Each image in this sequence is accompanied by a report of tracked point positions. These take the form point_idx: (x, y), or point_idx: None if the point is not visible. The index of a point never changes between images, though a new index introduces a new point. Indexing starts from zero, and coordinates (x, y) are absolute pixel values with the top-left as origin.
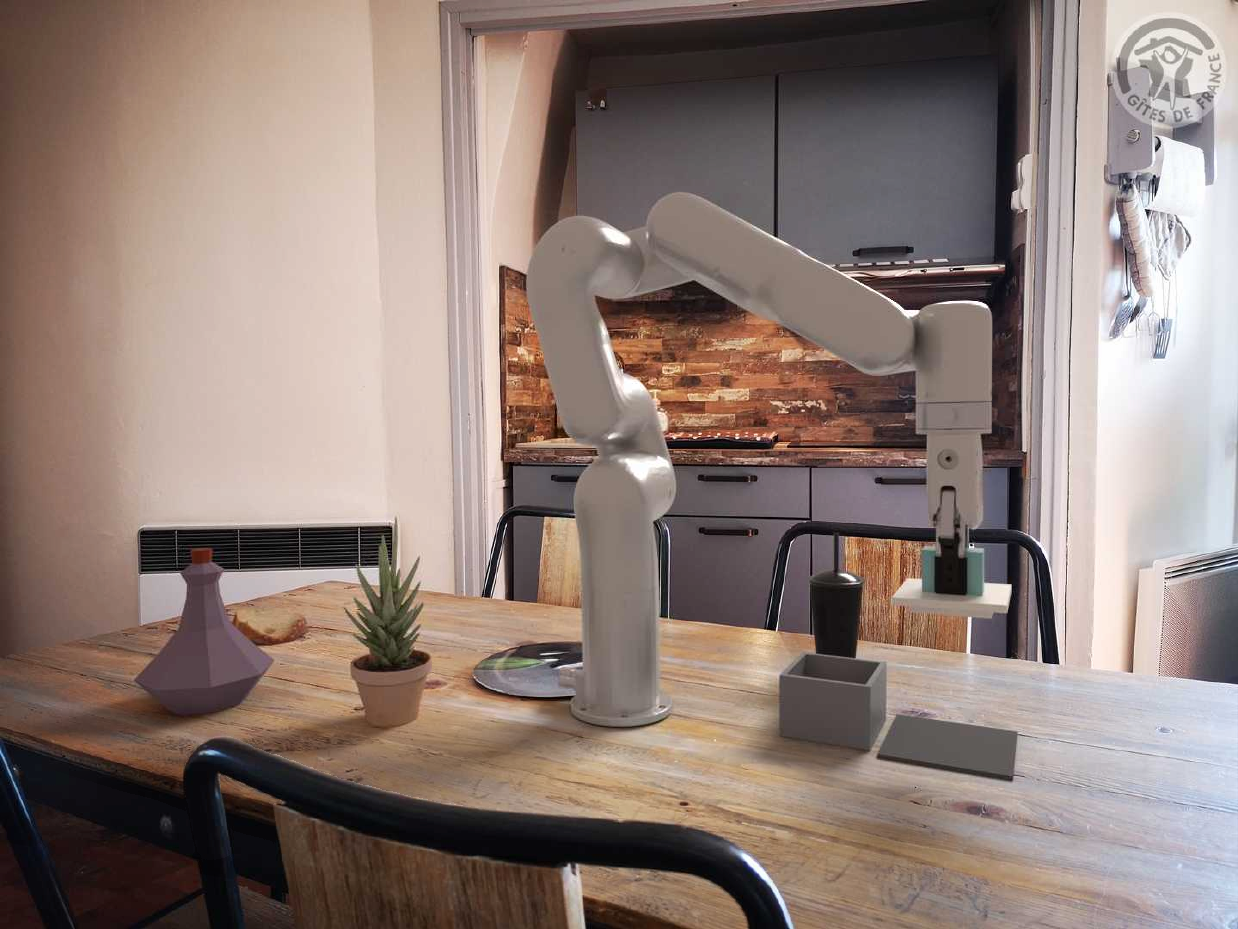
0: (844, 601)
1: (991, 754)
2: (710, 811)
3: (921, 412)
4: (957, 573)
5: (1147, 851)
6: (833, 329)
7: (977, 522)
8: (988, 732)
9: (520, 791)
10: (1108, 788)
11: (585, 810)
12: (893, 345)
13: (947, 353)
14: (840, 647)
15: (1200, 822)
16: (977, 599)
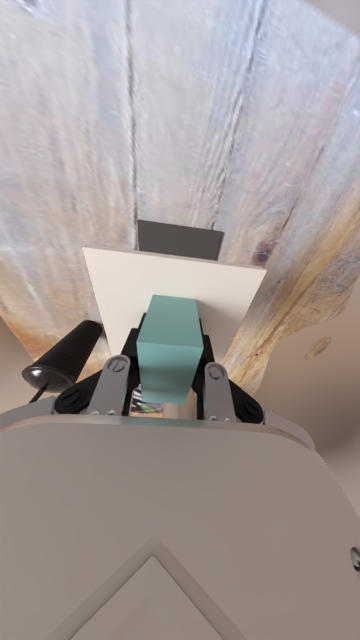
0: (73, 364)
1: (189, 243)
2: (262, 348)
3: None
4: (211, 348)
5: (329, 139)
6: None
7: (310, 458)
8: (149, 243)
9: (249, 384)
10: (225, 149)
11: (261, 371)
12: None
13: None
14: (90, 340)
15: (291, 48)
16: (224, 306)
